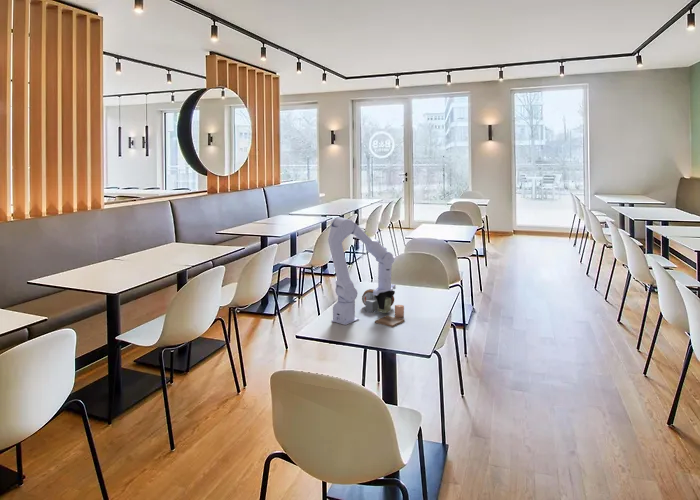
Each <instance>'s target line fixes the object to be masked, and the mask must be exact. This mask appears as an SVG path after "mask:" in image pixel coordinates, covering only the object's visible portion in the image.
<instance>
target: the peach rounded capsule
mask: <svg viewBox="0 0 700 500" xmlns="http://www.w3.org/2000/svg"><path fill="white" fill-rule="evenodd" d="M394 317H396V318H400V319H404V318H405V305H402V304H396V305H394Z"/></svg>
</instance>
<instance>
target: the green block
mask: <svg viewBox="0 0 700 500" xmlns="http://www.w3.org/2000/svg"><path fill="white" fill-rule="evenodd" d="M391 308H392V306H391V298H388V297H386V299H385V305H384V309H379V305H378V311H377V312H379V313H383V314H387V313H389V312H391V311H392V309H391Z"/></svg>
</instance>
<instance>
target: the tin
mask: <svg viewBox="0 0 700 500" xmlns="http://www.w3.org/2000/svg"><path fill="white" fill-rule="evenodd" d="M374 290H375V289H374V288H373V289H370V288H369V289H366V290H365V291H364V292H363V294H362V296H361V300H362V301H361V302H362V303H363V304H364V306H365V307H366V300H368V299H375V300H377V299H376V297H375V296H374V295H373V291H374ZM394 302H395V296H394V295H393V297H392V300H391V307H392V306H393V305H394Z"/></svg>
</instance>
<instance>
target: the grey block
mask: <svg viewBox="0 0 700 500" xmlns="http://www.w3.org/2000/svg"><path fill="white" fill-rule="evenodd" d="M365 312H368V313H375V312H378V302H377V300H375V299H368V300H366V306H365Z"/></svg>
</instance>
